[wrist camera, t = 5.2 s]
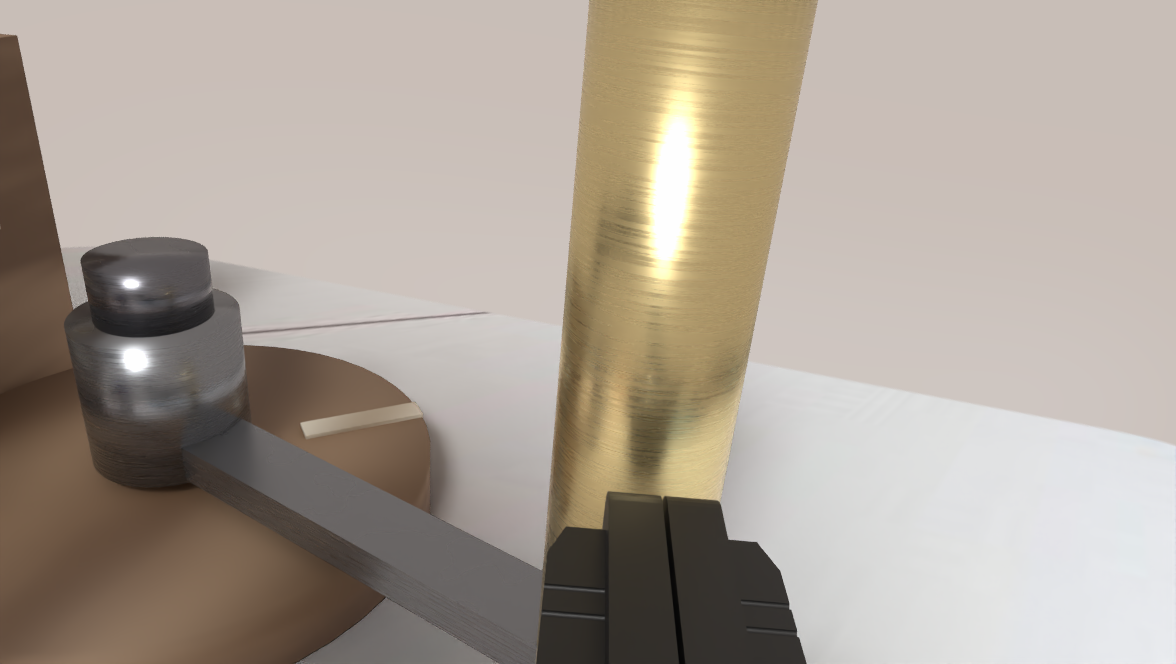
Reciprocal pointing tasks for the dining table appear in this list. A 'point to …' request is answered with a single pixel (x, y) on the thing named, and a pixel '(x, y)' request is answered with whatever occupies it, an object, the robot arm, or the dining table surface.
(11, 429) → the stand
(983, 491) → the dining table surface
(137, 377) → the crank handle
